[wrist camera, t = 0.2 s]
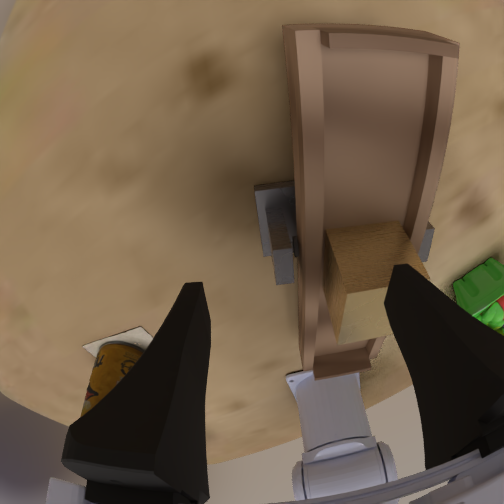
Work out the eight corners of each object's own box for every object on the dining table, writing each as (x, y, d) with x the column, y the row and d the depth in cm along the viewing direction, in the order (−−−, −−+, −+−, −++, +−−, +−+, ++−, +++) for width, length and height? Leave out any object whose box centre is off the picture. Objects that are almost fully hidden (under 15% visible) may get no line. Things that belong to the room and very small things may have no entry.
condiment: (82, 345, 29) (54, 448, 19) (141, 325, 27) (117, 449, 18) (126, 380, 33) (111, 474, 23) (185, 366, 31) (178, 475, 22)
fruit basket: (502, 302, 30) (544, 373, 20) (445, 340, 32) (480, 417, 23) (499, 241, 24) (564, 325, 15) (429, 287, 27) (481, 387, 17)
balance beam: (369, 326, 27) (381, 367, 24) (295, 339, 27) (302, 382, 24) (421, 29, 10) (479, 50, 7) (274, 24, 10) (295, 34, 7)
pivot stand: (398, 231, 22) (429, 275, 18) (262, 249, 23) (269, 302, 19) (405, 170, 19) (445, 208, 15) (253, 185, 20) (259, 230, 16)
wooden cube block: (384, 276, 19) (405, 330, 16) (322, 286, 19) (337, 345, 16) (398, 220, 15) (430, 278, 13) (325, 229, 16) (347, 294, 13)
